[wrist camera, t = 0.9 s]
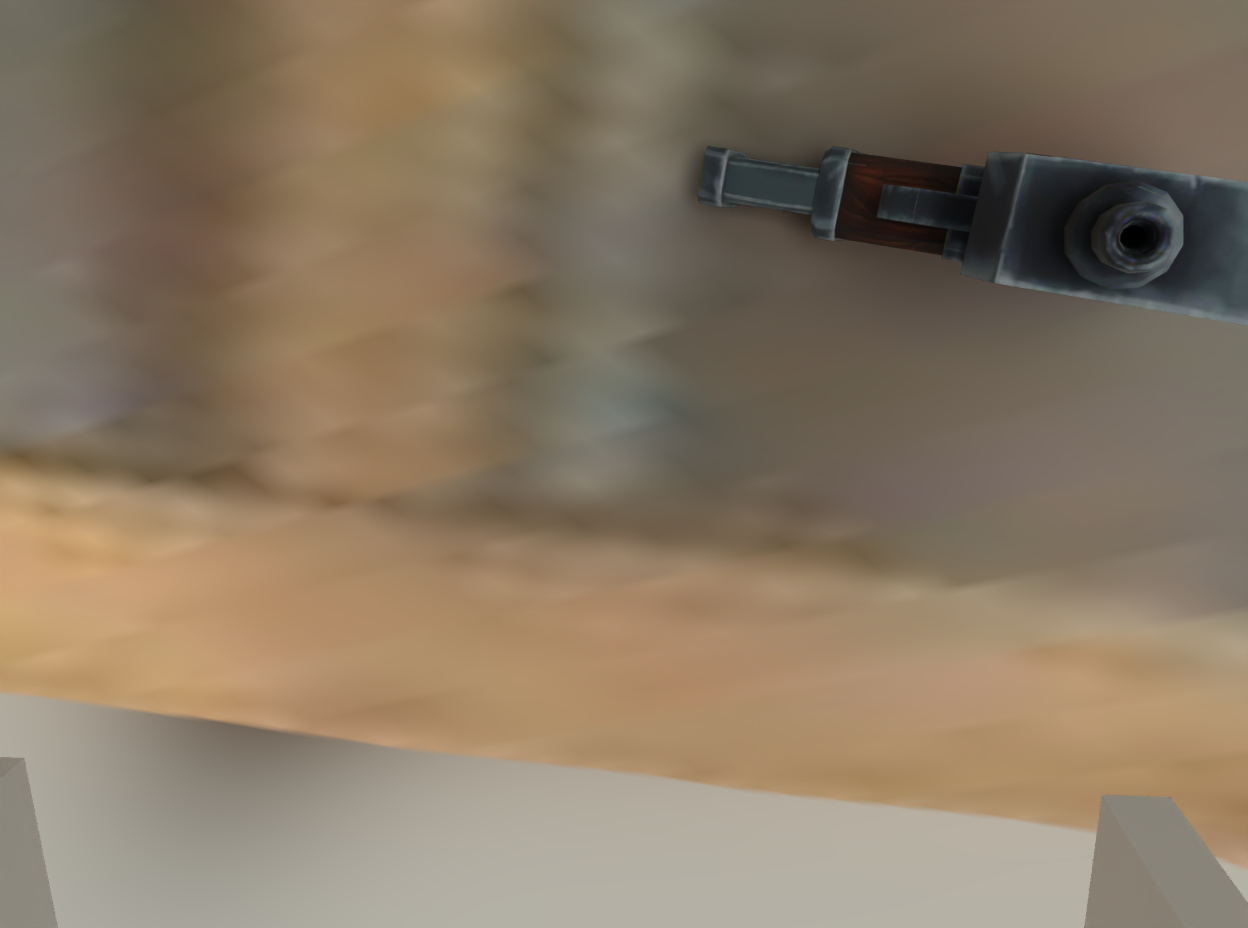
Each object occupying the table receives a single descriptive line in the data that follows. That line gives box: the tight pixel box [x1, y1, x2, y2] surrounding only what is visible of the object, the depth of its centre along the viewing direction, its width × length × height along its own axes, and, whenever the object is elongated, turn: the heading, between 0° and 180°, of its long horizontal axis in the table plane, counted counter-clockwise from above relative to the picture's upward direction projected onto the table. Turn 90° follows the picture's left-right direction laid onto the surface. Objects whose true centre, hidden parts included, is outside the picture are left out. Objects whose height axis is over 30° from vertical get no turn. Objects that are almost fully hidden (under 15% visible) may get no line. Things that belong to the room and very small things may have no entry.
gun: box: [697, 146, 1248, 325], centre depth 26 cm, size 3×17×15 cm
